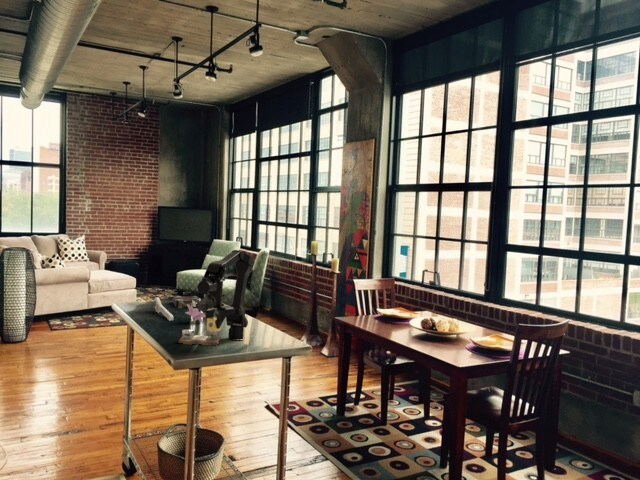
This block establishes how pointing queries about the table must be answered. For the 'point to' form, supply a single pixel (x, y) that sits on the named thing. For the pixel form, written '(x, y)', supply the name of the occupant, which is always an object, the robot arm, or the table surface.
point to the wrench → (162, 309)
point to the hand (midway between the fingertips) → (213, 327)
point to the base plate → (202, 339)
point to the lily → (195, 314)
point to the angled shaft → (188, 333)
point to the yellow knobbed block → (212, 324)
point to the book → (183, 301)
